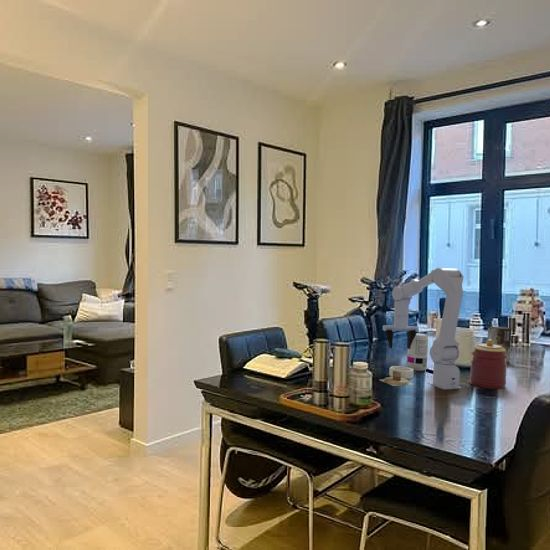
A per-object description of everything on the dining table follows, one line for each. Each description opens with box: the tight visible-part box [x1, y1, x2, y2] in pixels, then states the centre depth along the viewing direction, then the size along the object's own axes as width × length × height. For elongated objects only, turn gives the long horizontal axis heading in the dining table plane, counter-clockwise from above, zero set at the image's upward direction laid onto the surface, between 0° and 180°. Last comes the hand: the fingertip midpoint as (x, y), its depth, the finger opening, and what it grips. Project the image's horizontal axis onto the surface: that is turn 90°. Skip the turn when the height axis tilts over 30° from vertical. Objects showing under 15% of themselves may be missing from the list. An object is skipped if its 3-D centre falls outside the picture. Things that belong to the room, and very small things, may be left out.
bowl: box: [388, 365, 415, 380], centre depth 209 cm, size 9×9×4 cm
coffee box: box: [486, 325, 512, 363], centre depth 252 cm, size 9×6×16 cm
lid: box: [383, 371, 410, 386], centre depth 199 cm, size 9×9×4 cm
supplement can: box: [406, 332, 429, 372], centre depth 225 cm, size 8×8×15 cm
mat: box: [379, 378, 416, 387], centre depth 199 cm, size 10×10×1 cm
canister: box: [469, 339, 508, 390], centre depth 202 cm, size 13×13×18 cm
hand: (399, 348), depth 218 cm, fingers open, 7 cm apart
